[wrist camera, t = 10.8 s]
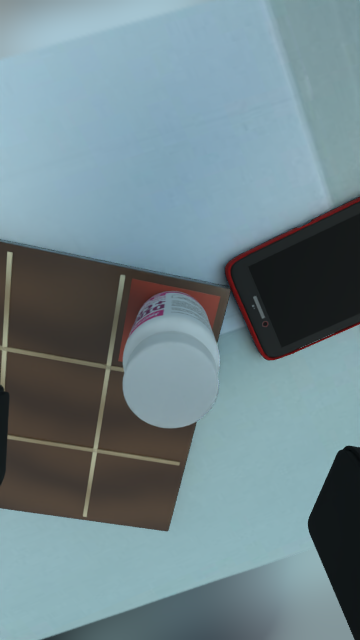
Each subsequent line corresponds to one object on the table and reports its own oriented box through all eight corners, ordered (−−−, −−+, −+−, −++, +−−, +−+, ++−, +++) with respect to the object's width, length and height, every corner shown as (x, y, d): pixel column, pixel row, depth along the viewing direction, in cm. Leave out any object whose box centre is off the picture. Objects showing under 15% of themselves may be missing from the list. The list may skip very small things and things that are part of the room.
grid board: (-96, 219, 20) (-111, 219, 19) (228, 286, 21) (231, 289, 20) (-86, 485, 25) (-97, 496, 24) (168, 521, 27) (168, 533, 26)
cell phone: (463, 271, 21) (476, 273, 20) (261, 360, 23) (265, 366, 22) (439, 157, 19) (453, 154, 18) (219, 263, 21) (221, 265, 20)
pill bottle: (154, 276, 20) (142, 312, 12) (220, 308, 21) (251, 362, 13) (124, 340, 21) (94, 412, 13) (187, 368, 22) (196, 452, 14)
